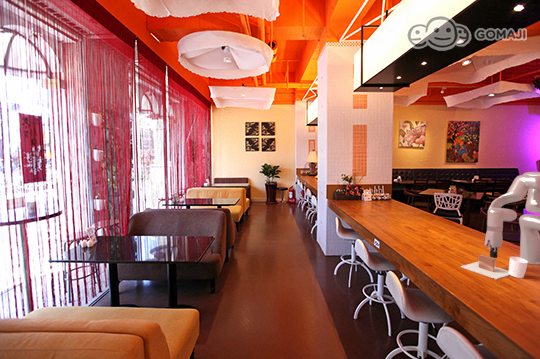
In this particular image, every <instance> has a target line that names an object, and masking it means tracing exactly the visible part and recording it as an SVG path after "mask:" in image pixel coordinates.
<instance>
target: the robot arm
mask: <svg viewBox="0 0 540 359" xmlns="http://www.w3.org/2000/svg"><path fill="white" fill-rule="evenodd" d="M526 195H527V198H526V202H525V210H526V211H527V212H529V214H528V213H527V214H526V213H525V214H522V215H520V217H519V218H518V220H519V221H518V223H519V227H520V239H519V240H520V243H519V244H520V245H519V246H520V247H519V249H520V250H519V256H517V257H519V258H522V259H525V260H527V261H528V265H539V266H540V171H527V172H524V173H523V174H521V175H517V176H516V177H515V178H514V180H513V181H512V183H511V185H510V186H509V188H508V190H507V192H506V193H504V194H502V195H500V196H499V197H497V198H495V199H494V200H493V201H492V202H491V204H490V205H489V207H488V210H487V217H486V218H487V220H486V233H485V239H484V246H485V247H487V249H488V250H489V257H490V258H494V259H497V258H498V251H499V249H500V248H501V247H502V246H503V228H504V222H513V221H515V220H516V219H517V216H518V214H517V212H516V211H515V210H514V209H510V208H504V207H502V206H504V205H507V204H510V203H516V202H519V201H522V200H524V198H525V196H526ZM530 213H533V214H530ZM536 214H539V215H536Z"/></svg>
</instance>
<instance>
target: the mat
mask: <svg viewBox="0 0 540 359" xmlns="http://www.w3.org/2000/svg"><path fill="white" fill-rule="evenodd" d="M460 268H463V269H466V270H468V271H471V272H473V273H476V274H479V275H481V276H485V277H488V278H491V279H493V278H494V279H493V280H495V281H496V280H500V279H503V278H507V277H509V276H511V275H510V274H509V270H507V269H503V268H501V267H497V266H495V272H491V271H488V270H485V269H482V268H479V261H476V262H471V263H469V264H464V265H461V266H460Z"/></svg>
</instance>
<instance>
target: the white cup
mask: <svg viewBox="0 0 540 359" xmlns="http://www.w3.org/2000/svg"><path fill="white" fill-rule="evenodd" d="M528 265H529V264H528V261H527V260H525V259H522V258H519V257H518V256H509V263H508V271H509V274H510V275H509V276H511V277H514V278H518V279H523V278H524V277H525V274H526V271H527V267H528Z"/></svg>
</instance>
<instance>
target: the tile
mask: <svg viewBox="0 0 540 359" xmlns="http://www.w3.org/2000/svg"><path fill="white" fill-rule="evenodd" d="M478 262H479V268H482V269H485V270H488V271H491V272H495V267H496V258H492V257H490V256H486V255H483V254H480V255H478Z"/></svg>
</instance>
